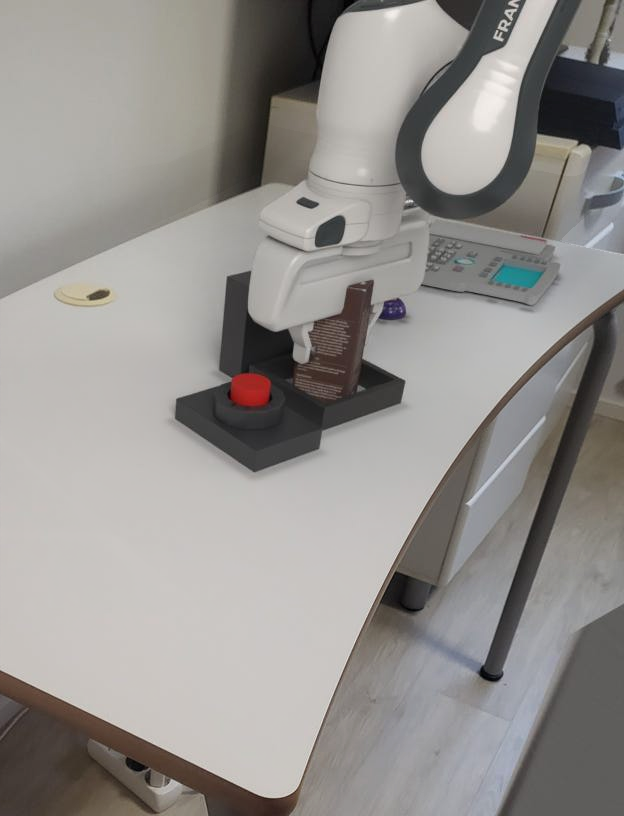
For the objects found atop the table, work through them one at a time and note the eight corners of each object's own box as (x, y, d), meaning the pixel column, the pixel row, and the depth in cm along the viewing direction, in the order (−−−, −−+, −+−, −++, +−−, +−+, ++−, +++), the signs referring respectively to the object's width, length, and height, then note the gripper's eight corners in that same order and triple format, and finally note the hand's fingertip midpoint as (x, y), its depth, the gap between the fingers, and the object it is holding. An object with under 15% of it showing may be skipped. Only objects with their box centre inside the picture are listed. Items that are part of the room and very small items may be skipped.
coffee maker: (401, 403, 98) (422, 306, 92) (320, 431, 93) (337, 331, 87) (296, 347, 108) (308, 256, 101) (218, 370, 103) (226, 276, 96)
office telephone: (434, 211, 139) (577, 237, 132) (430, 230, 141) (571, 257, 134) (380, 255, 124) (539, 288, 116) (376, 276, 125) (532, 309, 118)
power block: (319, 449, 91) (325, 410, 88) (254, 473, 87) (258, 433, 84) (238, 399, 98) (241, 361, 95) (174, 419, 94) (176, 380, 92)
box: (357, 392, 100) (378, 275, 92) (345, 410, 97) (366, 291, 89) (301, 380, 102) (318, 264, 94) (287, 397, 99) (303, 279, 91)
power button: (276, 402, 90) (279, 384, 89) (246, 411, 88) (248, 394, 87) (251, 387, 92) (253, 370, 91) (222, 396, 90) (223, 378, 89)
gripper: (407, 181, 94) (380, 320, 103) (245, 214, 85) (231, 364, 94) (457, 198, 90) (425, 341, 99) (293, 235, 81) (274, 389, 90)
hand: (329, 352), depth 96 cm, fingers closed on box, 6 cm apart
